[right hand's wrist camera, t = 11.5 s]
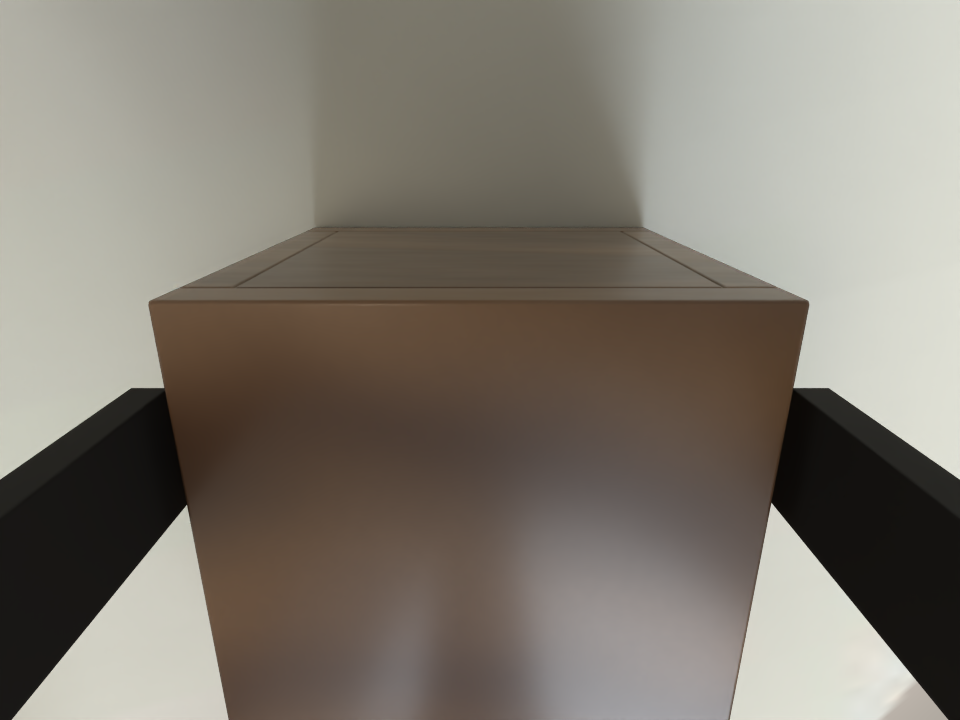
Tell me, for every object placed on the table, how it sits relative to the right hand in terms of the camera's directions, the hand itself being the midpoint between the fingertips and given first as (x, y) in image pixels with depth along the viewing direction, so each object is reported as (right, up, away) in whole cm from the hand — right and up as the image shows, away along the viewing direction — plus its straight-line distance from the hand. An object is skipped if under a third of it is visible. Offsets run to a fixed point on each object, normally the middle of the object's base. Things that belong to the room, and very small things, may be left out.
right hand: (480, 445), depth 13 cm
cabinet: (0, -2, +11) cm, 11 cm away
